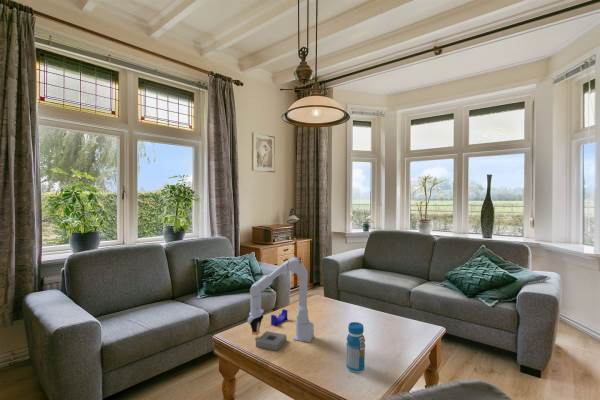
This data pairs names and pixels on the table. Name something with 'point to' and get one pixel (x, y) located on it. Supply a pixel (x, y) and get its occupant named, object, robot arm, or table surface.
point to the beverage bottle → (355, 348)
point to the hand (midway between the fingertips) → (255, 330)
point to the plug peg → (257, 329)
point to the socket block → (271, 340)
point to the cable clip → (279, 318)
